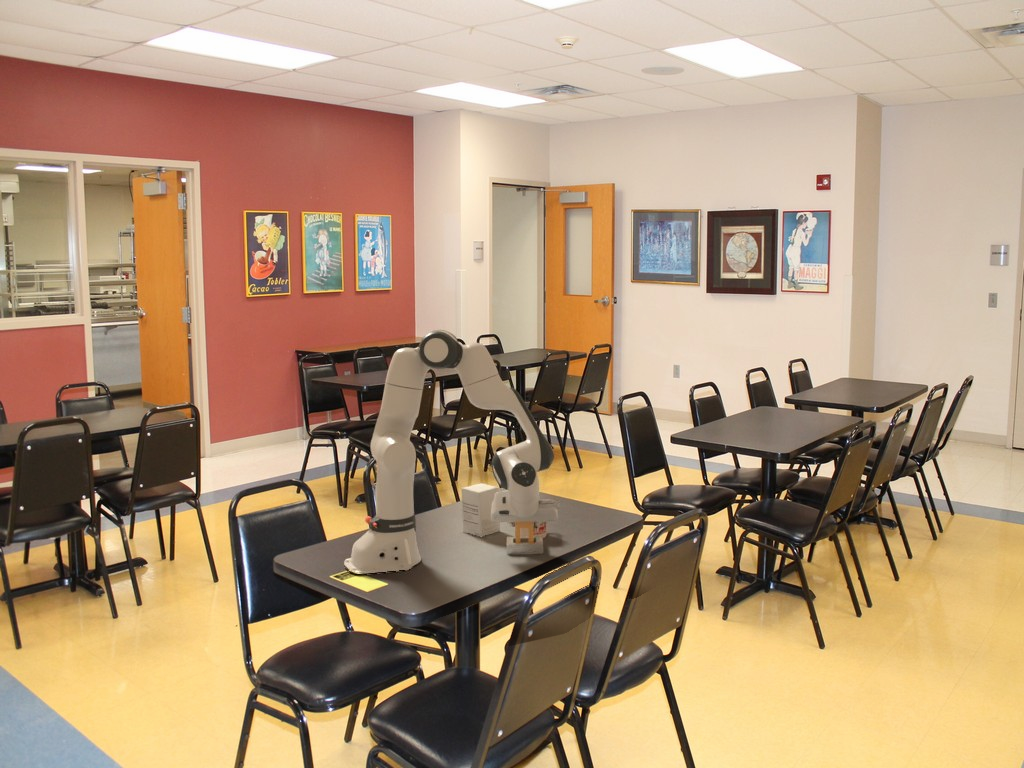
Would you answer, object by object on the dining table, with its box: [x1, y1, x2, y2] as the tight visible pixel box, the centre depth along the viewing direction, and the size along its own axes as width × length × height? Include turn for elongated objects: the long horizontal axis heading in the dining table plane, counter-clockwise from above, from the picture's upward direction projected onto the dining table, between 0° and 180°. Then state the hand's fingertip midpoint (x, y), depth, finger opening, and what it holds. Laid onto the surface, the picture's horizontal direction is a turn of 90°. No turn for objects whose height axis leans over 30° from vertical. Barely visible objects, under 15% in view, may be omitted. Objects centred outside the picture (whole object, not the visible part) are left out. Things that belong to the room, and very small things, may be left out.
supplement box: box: [461, 482, 501, 538], centre depth 289 cm, size 9×9×15 cm
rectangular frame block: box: [506, 536, 544, 555], centre depth 270 cm, size 8×11×3 cm
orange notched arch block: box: [514, 522, 534, 543], centre depth 269 cm, size 6×3×12 cm, turn 90°
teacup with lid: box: [520, 521, 548, 539], centre depth 284 cm, size 12×9×12 cm
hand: (524, 524), depth 270 cm, fingers open, 6 cm apart
